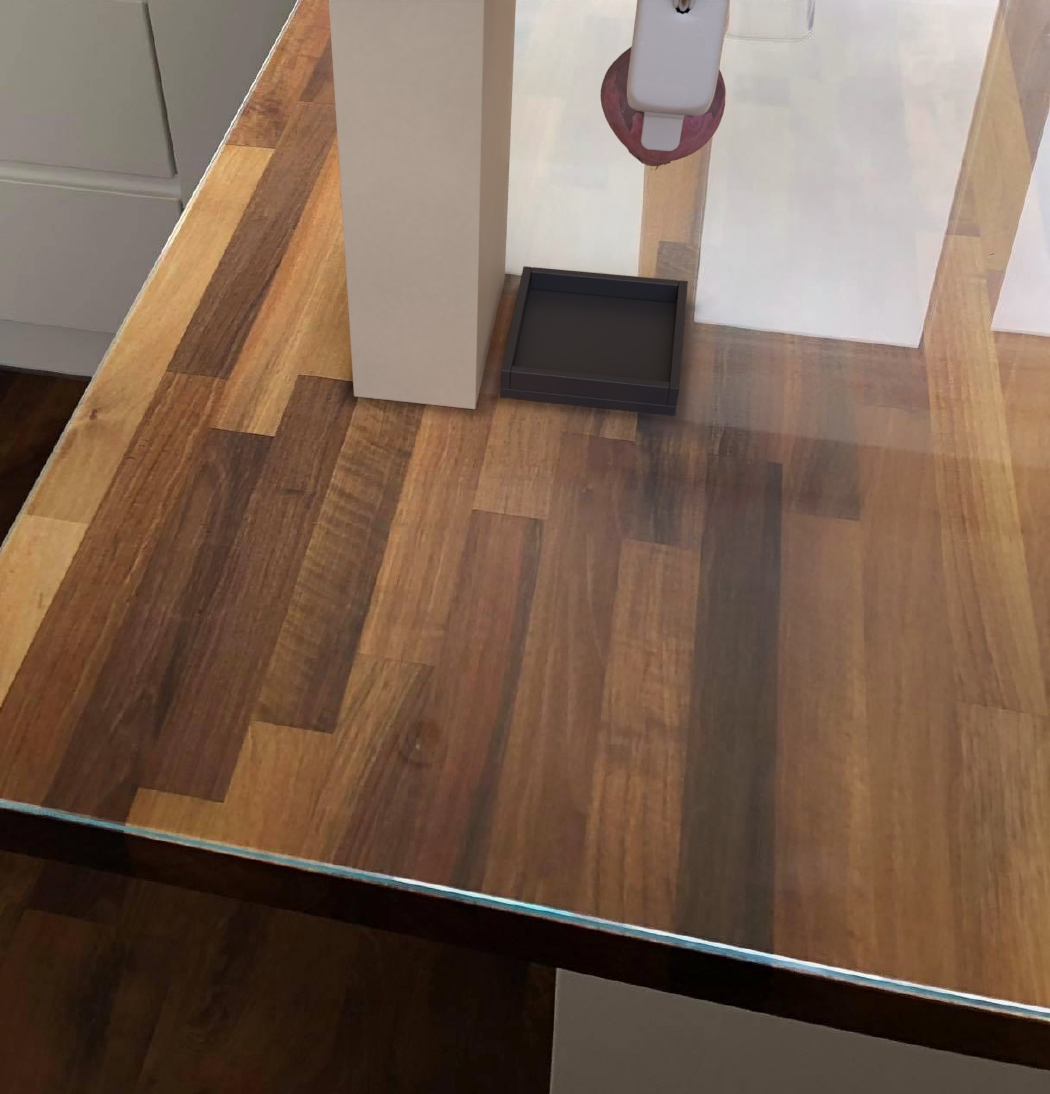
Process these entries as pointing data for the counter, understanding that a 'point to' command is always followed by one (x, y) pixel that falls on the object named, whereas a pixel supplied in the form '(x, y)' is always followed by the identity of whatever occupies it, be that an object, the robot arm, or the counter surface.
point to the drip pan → (596, 340)
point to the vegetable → (631, 121)
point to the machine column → (423, 189)
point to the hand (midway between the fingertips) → (663, 100)
